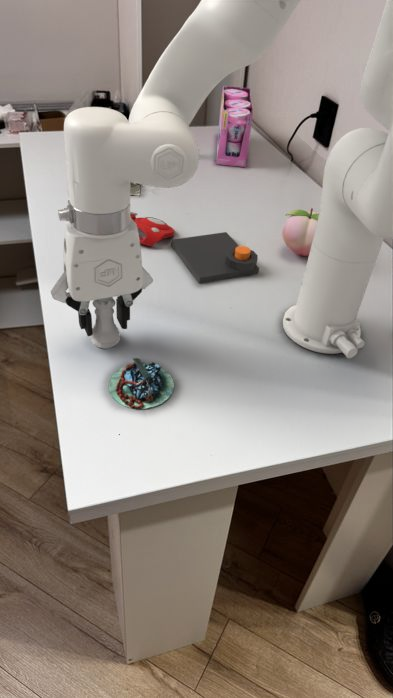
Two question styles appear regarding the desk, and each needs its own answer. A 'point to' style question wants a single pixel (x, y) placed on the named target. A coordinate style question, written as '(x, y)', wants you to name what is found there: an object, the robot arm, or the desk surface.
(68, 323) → the desk surface
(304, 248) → the decorative fruit
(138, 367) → the dish
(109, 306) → the rook chess piece
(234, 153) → the gum box
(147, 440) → the desk surface
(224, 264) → the scale
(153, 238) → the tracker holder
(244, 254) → the button
